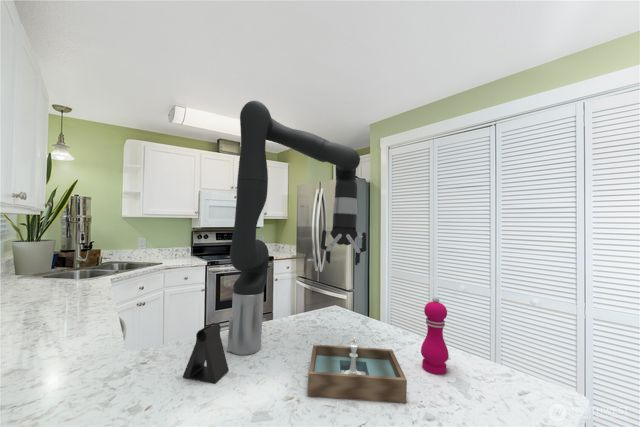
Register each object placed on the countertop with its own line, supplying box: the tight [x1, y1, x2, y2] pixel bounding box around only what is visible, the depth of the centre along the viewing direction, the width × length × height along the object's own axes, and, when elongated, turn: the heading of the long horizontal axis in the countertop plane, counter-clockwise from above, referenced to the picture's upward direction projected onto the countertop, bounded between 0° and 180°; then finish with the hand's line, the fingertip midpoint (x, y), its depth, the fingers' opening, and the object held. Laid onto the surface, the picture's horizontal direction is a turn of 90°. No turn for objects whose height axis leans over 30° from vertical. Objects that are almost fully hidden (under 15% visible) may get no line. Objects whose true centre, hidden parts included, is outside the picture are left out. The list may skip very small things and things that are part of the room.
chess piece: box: [343, 337, 363, 375], centre depth 74 cm, size 5×5×10 cm
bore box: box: [306, 344, 408, 404], centre depth 72 cm, size 22×16×5 cm
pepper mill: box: [420, 295, 450, 375], centre depth 80 cm, size 7×7×20 cm
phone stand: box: [182, 322, 230, 384], centre depth 72 cm, size 9×6×12 cm, turn 78°
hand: (342, 264), depth 90 cm, fingers open, 8 cm apart
